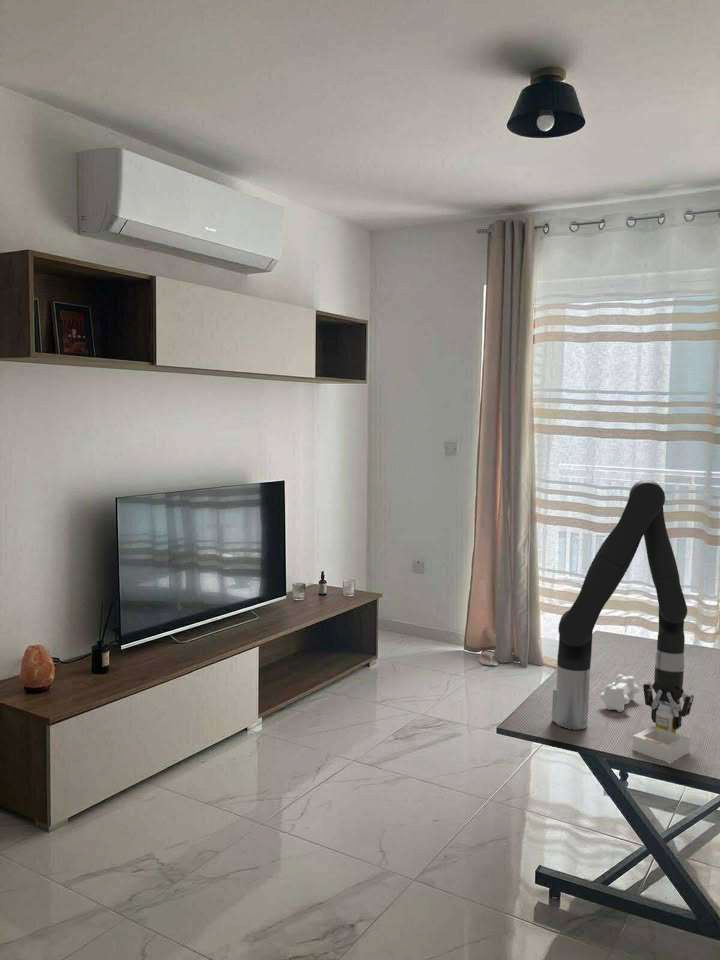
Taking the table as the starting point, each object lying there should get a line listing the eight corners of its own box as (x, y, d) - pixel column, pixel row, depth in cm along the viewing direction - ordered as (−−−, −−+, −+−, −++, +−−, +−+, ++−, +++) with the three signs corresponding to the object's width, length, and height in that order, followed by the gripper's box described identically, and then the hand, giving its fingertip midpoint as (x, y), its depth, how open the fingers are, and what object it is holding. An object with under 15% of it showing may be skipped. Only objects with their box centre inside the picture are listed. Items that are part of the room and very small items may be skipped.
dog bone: (613, 697, 256) (612, 672, 256) (641, 700, 251) (640, 674, 251) (599, 710, 244) (598, 684, 243) (628, 714, 239) (627, 687, 239)
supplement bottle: (670, 733, 226) (672, 700, 225) (678, 741, 220) (680, 707, 219) (651, 733, 225) (653, 699, 225) (659, 741, 220) (661, 707, 219)
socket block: (632, 750, 214) (633, 734, 213) (652, 740, 221) (653, 725, 220) (669, 763, 206) (670, 747, 205) (689, 752, 213) (690, 737, 212)
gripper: (638, 662, 224) (635, 720, 225) (688, 675, 213) (684, 737, 215) (652, 657, 229) (648, 714, 230) (701, 670, 218) (697, 730, 220)
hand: (665, 725), depth 223 cm, fingers closed on supplement bottle, 5 cm apart
